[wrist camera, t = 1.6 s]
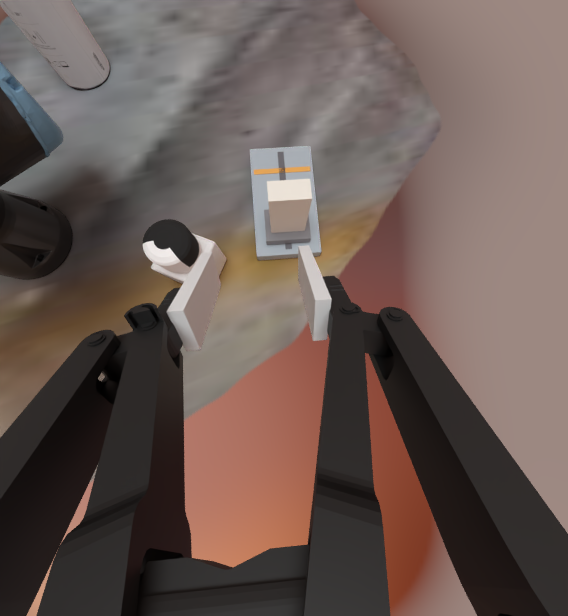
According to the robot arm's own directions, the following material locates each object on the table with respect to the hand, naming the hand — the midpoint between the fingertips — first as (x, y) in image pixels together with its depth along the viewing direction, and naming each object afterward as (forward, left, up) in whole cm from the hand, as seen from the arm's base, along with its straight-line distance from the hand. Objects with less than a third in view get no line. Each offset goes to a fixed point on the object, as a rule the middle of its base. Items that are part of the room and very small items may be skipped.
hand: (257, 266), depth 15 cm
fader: (+4, +14, -22) cm, 27 cm away
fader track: (+4, +20, -24) cm, 32 cm away
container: (-13, +8, -25) cm, 29 cm away
